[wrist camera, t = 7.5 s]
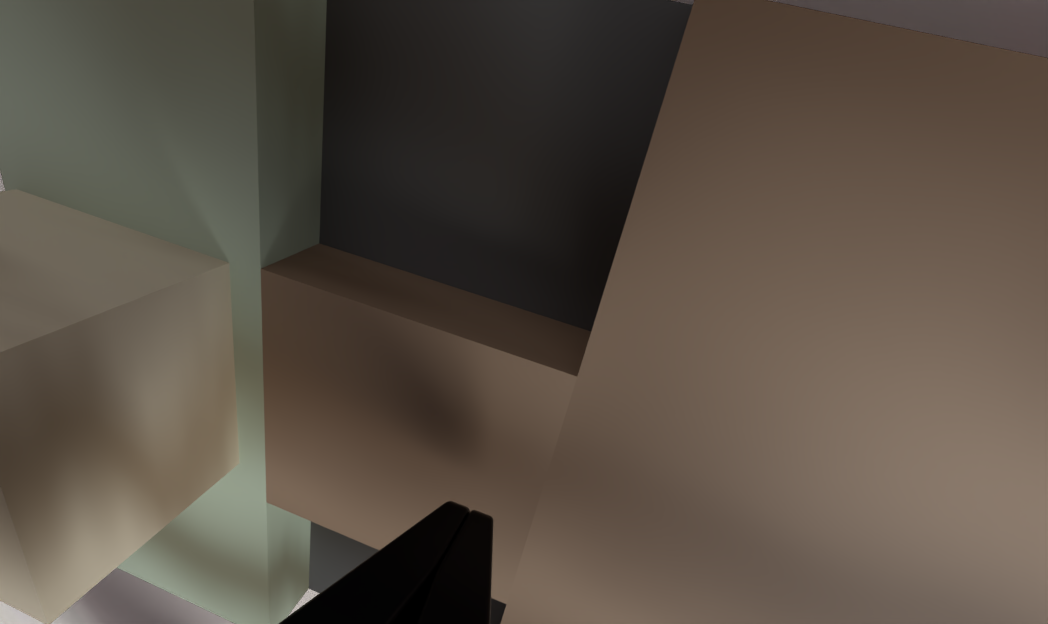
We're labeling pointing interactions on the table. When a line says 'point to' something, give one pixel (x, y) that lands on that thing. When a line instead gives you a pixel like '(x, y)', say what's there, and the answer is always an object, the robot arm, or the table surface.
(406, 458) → the trap deck
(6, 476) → the birch block
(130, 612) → the table surface
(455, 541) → the robot arm
